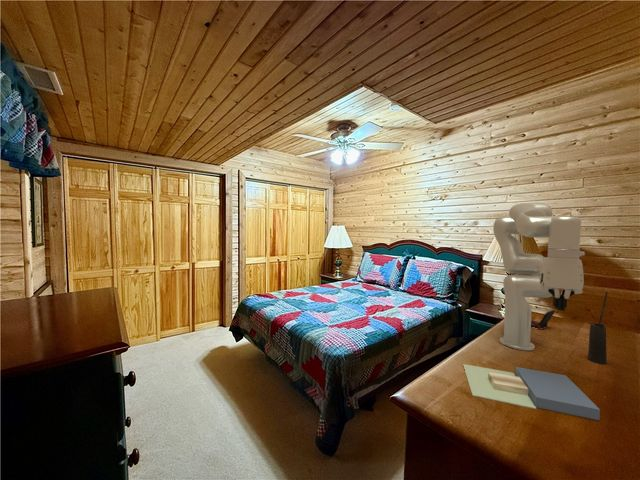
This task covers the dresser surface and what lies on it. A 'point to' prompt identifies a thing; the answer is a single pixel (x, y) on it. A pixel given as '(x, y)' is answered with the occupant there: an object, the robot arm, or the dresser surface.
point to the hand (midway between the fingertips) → (559, 309)
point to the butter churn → (598, 340)
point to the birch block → (508, 383)
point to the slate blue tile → (557, 393)
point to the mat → (484, 388)
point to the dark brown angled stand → (543, 320)
